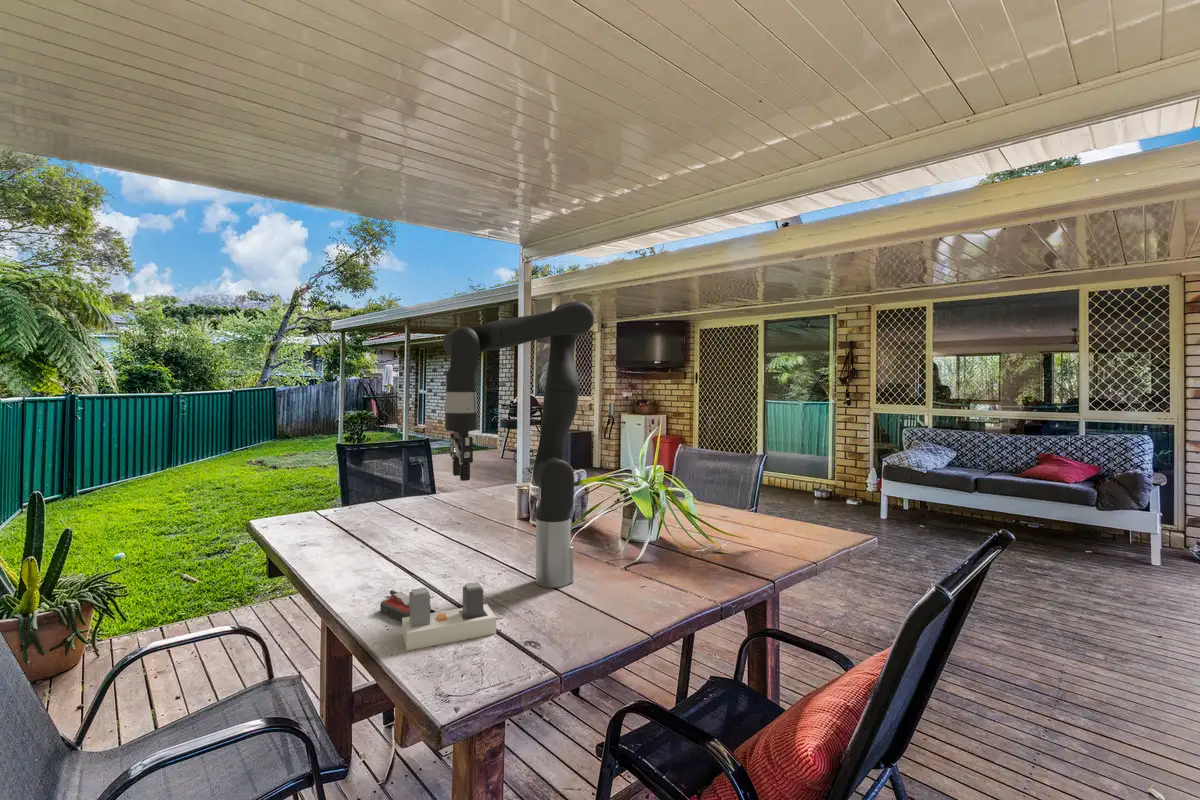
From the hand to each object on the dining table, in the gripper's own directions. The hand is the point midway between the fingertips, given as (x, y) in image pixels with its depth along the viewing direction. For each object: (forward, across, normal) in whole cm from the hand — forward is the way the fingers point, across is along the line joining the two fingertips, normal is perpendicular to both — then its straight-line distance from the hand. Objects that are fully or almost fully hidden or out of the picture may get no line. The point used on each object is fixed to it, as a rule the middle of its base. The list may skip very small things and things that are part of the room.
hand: (461, 477), depth 134 cm
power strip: (+30, -17, +6) cm, 35 cm away
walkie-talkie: (+31, +1, +14) cm, 34 cm away
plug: (+29, -17, +1) cm, 34 cm away
